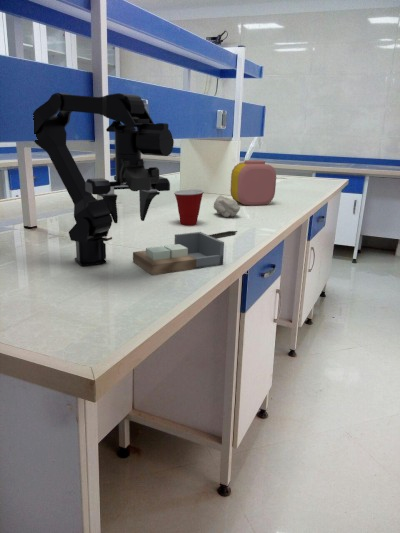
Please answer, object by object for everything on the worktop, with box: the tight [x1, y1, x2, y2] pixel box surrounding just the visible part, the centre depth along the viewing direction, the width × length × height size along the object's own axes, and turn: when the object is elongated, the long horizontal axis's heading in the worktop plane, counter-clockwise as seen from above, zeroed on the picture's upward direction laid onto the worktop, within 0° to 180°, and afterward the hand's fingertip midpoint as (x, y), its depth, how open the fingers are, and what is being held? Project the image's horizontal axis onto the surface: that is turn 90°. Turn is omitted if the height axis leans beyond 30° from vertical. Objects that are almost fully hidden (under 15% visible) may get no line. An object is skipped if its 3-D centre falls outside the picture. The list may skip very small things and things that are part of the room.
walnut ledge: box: [132, 250, 197, 276], centre depth 114 cm, size 12×12×2 cm
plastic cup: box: [173, 188, 205, 226], centre depth 159 cm, size 11×11×12 cm
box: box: [173, 231, 225, 269], centre depth 118 cm, size 8×12×6 cm, turn 30°
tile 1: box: [145, 245, 170, 260], centre depth 112 cm, size 4×4×2 cm
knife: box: [208, 230, 238, 239], centre depth 143 cm, size 25×6×1 cm, turn 127°
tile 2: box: [163, 244, 188, 258], centre depth 114 cm, size 4×4×2 cm
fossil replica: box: [213, 195, 241, 218], centre depth 176 cm, size 12×8×10 cm
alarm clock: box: [229, 159, 277, 206], centre depth 203 cm, size 18×11×19 cm, turn 108°
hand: (129, 221), depth 105 cm, fingers open, 6 cm apart
